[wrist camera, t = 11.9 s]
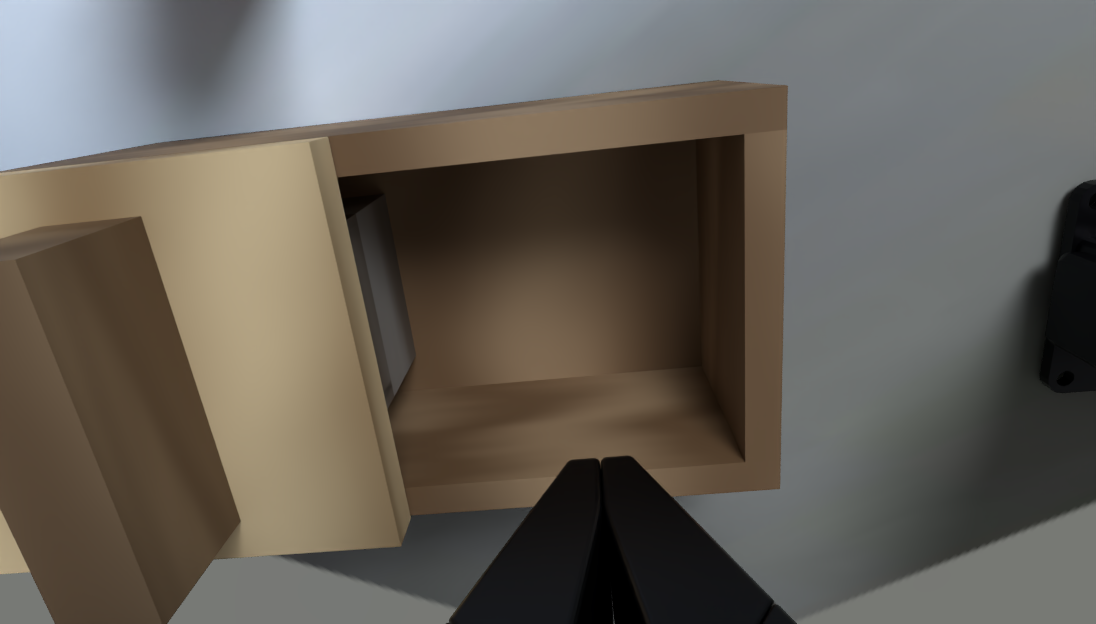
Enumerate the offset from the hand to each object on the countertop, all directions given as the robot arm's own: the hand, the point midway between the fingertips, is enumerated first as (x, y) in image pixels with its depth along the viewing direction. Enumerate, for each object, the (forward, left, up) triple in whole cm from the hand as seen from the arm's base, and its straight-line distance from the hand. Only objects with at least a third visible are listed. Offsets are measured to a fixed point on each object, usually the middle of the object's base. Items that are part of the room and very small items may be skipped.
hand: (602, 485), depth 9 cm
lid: (+13, 0, -6) cm, 14 cm away
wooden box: (+4, 0, -12) cm, 12 cm away
